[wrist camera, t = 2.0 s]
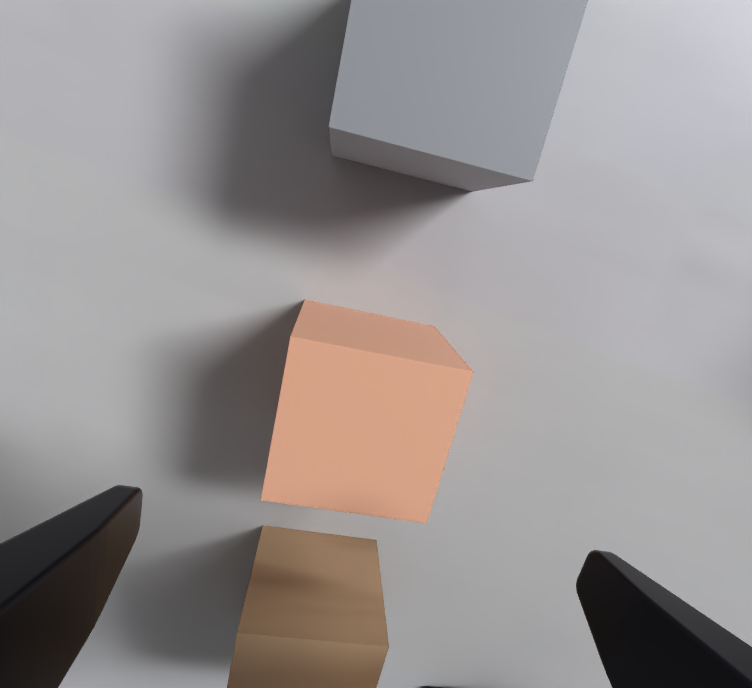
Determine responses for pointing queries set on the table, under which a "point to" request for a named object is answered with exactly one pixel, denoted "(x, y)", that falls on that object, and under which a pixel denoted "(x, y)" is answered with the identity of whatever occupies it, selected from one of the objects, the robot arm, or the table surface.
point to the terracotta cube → (364, 414)
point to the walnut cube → (311, 614)
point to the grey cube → (452, 86)
